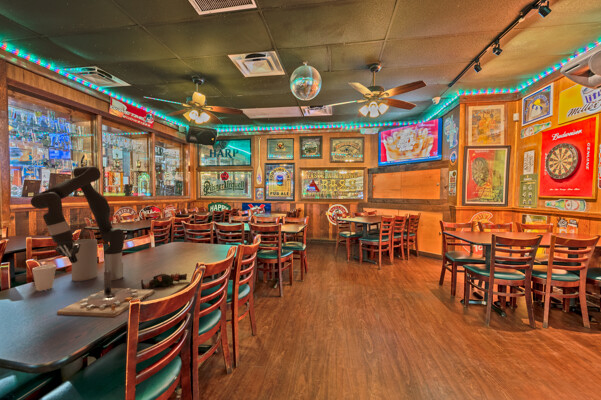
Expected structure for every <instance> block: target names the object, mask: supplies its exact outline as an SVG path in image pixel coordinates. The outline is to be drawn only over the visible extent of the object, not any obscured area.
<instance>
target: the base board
mask: <svg viewBox="0 0 601 400" xmlns="http://www.w3.org/2000/svg"><path fill="white" fill-rule="evenodd" d="M117 288H118V287H117ZM117 288H116V287H111V291H113V290H115V289H117ZM125 289H126V288H120V290H125ZM132 290H137V293H138V296H136V297H131V298H132V300H135V299H140V300H141V301H142V300H144V299H146V298H147V296H148V297H149V296H150V295H151V296H152V295H153V294H154V293H155V289H147V288H144V289H142V288H140V289H139V288H138V289H137V288H131V291H132ZM102 291H104V289H103V290H100V291H98V292H96V293H94V294H95V295H97V294H100V293H102ZM145 297H146V298H145ZM143 298H144V299H143ZM84 299H89V296H87V297H85V298H84ZM82 300H83V299H80V300H78V301H76V302H74V303H72V304H70V305H67V306H65V307H63V308H61V309H58V310H56V314H57V315H67V316H68V315H70V316H91V317H92V316H93V317H113V318H116V316H118V315H119V314H122V313H123V312H125V311H127V310H129V301H124V302H122V303H120V305H118V306H115V304H114V305H111V306H106V307H105V308H104V309H100V307H94V308H92V309H90V310H88V309H86V307H87V306H85V307H80V304H82V303H81V301H82Z"/></svg>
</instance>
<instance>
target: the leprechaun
mask: <svg viewBox="0 0 601 400" xmlns="http://www.w3.org/2000/svg"><path fill="white" fill-rule="evenodd" d="M187 276H188V273H182V274H180V273H179V272H178V273H172V274H166V273H160V274H158V275H155V276H153V277H152V278H153V279H150V280H149V282H148V283H146V284H145V283H144V280H143V279H141V282H140V284H141V285H140V286H141V289H147V288H152V287H153V286H154V287H159V286H162V287H163V288H164V287H166V288H168V287H170V286H171V285H172V284H173V283H174V282H175V283H176V282H177V283H179V282H180V281H187V279H188V277H187Z"/></svg>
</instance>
